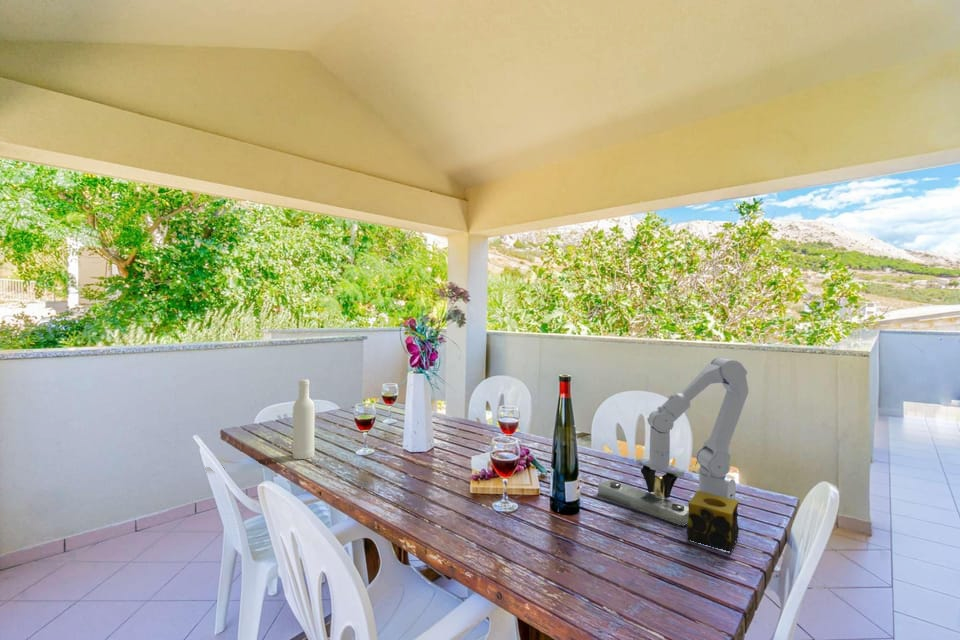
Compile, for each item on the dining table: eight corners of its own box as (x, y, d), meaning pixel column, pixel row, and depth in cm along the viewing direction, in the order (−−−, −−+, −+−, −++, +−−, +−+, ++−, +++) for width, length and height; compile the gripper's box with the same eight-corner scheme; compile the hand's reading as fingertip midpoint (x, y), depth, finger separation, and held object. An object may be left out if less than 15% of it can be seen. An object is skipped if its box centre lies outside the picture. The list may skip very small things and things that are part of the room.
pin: (665, 500, 134) (666, 477, 134) (660, 502, 132) (661, 479, 132) (656, 496, 137) (657, 474, 136) (651, 499, 135) (652, 476, 135)
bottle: (287, 458, 168) (288, 380, 168) (301, 452, 175) (302, 378, 175) (305, 460, 166) (306, 382, 165) (318, 454, 173) (319, 379, 173)
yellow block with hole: (695, 526, 118) (696, 489, 118) (738, 538, 111) (739, 500, 111) (685, 541, 110) (686, 501, 110) (731, 555, 103) (732, 513, 103)
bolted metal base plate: (694, 519, 121) (694, 506, 121) (682, 526, 117) (682, 513, 117) (611, 488, 143) (611, 477, 142) (598, 493, 138) (598, 482, 138)
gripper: (631, 447, 137) (630, 489, 138) (676, 459, 126) (675, 506, 126) (643, 443, 142) (642, 484, 142) (687, 454, 131) (687, 499, 131)
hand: (658, 494), depth 134 cm, fingers open, 5 cm apart
